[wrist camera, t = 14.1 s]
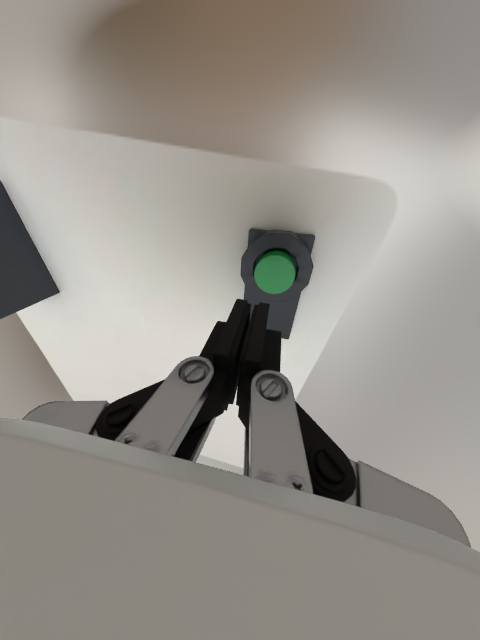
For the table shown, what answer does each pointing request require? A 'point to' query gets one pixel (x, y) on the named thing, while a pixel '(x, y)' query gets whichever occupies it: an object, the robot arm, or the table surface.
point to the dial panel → (19, 264)
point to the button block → (287, 301)
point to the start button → (275, 272)
